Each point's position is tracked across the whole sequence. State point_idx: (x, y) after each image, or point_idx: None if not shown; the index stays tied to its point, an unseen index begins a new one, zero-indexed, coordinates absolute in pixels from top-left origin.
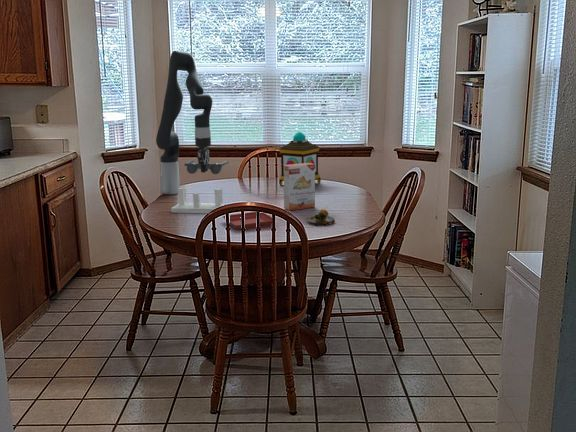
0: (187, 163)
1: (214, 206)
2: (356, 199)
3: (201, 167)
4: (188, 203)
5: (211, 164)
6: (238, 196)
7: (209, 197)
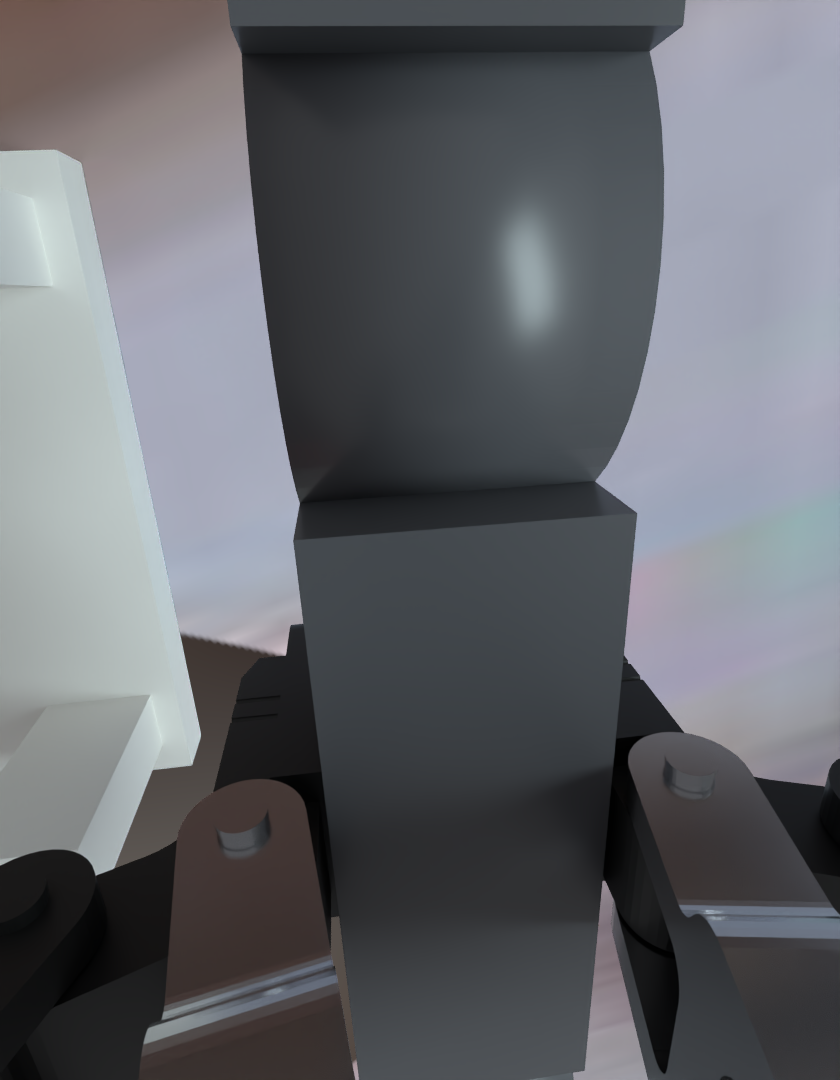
0: None
1: (2, 714)
2: None
3: (231, 759)
4: (48, 322)
5: (411, 1066)
6: (737, 664)
7: (702, 367)
